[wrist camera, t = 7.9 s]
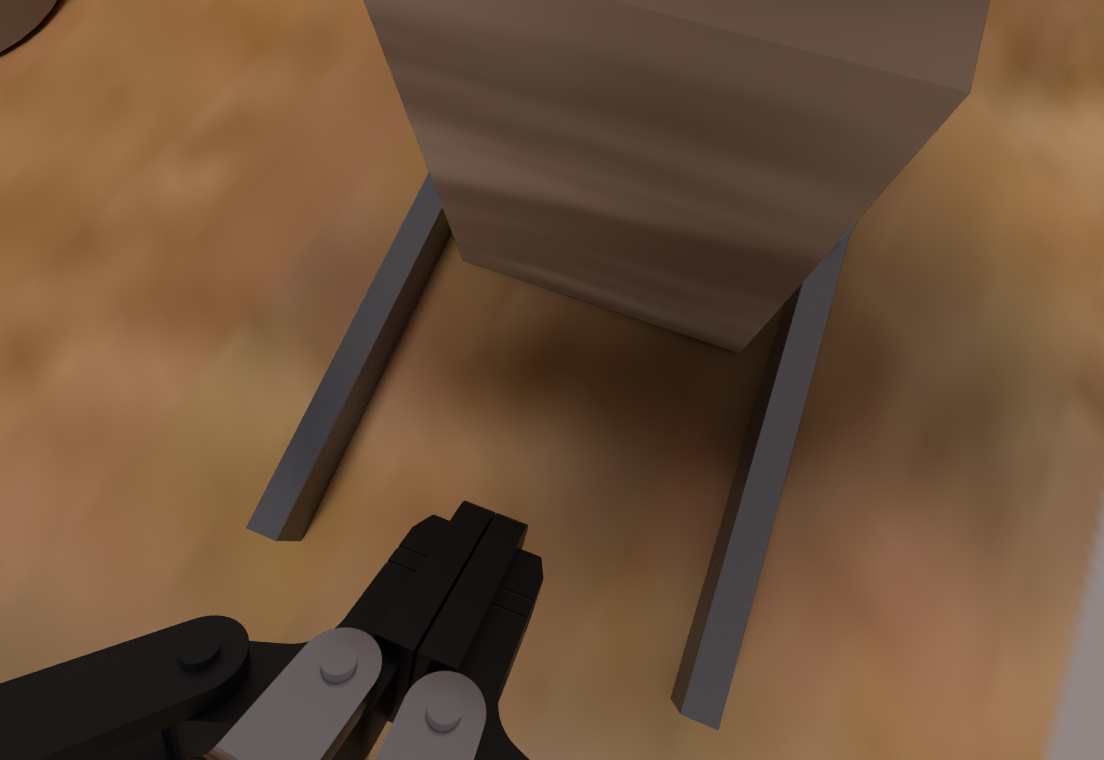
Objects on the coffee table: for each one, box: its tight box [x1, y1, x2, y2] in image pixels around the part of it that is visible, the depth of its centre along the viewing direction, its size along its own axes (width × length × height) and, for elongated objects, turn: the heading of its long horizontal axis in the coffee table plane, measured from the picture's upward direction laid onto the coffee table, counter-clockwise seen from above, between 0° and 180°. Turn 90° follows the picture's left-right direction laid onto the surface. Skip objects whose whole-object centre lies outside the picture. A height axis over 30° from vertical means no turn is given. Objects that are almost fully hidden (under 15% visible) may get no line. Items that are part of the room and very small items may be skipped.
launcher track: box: [246, 173, 851, 730], centre depth 18 cm, size 16×14×2 cm
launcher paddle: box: [364, 0, 990, 353], centre depth 14 cm, size 3×10×11 cm, turn 69°
